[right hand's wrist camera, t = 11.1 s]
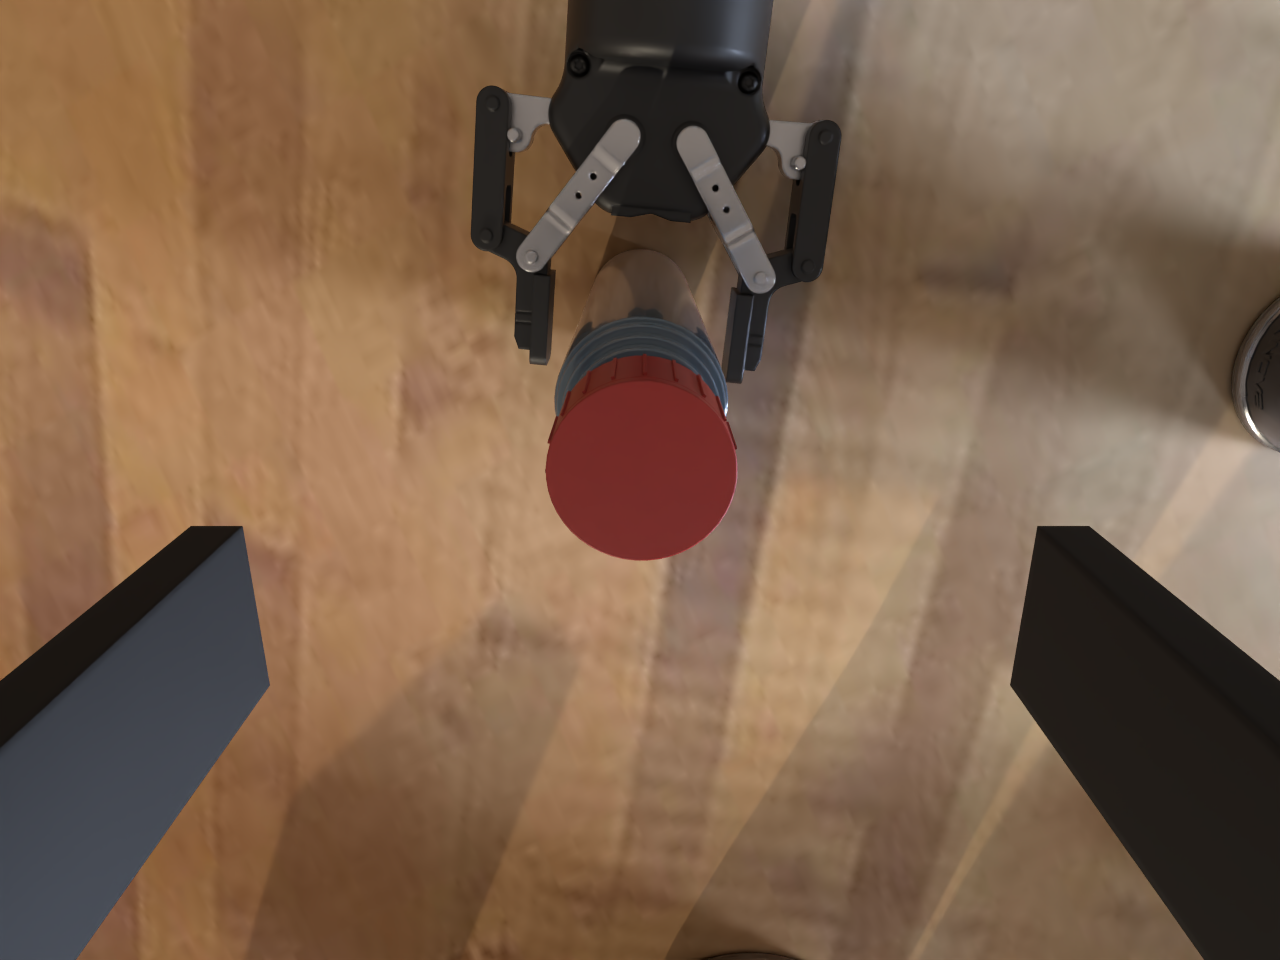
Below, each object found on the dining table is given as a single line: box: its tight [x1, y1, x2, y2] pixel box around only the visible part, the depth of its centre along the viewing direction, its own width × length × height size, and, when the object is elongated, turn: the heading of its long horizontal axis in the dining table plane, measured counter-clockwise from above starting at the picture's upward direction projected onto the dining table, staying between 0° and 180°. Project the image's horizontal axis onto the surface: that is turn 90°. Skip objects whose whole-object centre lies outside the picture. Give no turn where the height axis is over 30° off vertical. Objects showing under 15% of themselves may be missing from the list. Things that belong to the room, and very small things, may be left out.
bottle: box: [555, 249, 728, 417], centre depth 31 cm, size 5×5×25 cm
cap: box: [545, 354, 738, 560], centre depth 20 cm, size 4×4×2 cm
